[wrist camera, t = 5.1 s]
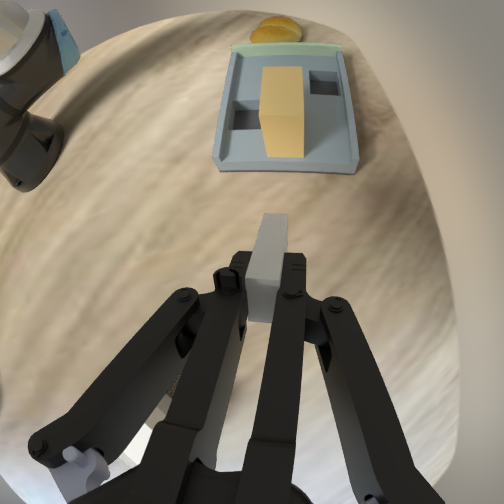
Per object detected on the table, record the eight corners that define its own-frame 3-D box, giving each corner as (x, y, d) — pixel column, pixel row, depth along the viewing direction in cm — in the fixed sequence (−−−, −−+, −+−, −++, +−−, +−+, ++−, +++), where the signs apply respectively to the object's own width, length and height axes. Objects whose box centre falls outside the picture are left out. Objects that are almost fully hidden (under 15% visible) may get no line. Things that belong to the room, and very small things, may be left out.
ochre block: (303, 157, 30) (304, 115, 22) (267, 157, 30) (258, 115, 23) (302, 110, 31) (302, 66, 24) (270, 110, 32) (262, 66, 25)
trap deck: (353, 175, 31) (360, 155, 27) (220, 172, 34) (209, 153, 29) (339, 65, 35) (341, 44, 31) (236, 65, 38) (231, 45, 33)
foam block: (104, 414, 30) (66, 430, 22) (138, 364, 31) (97, 375, 23) (156, 463, 28) (125, 490, 20) (198, 417, 28) (170, 445, 20)
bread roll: (245, 50, 39) (240, 33, 35) (265, 25, 40) (262, 9, 36) (291, 57, 37) (290, 39, 33) (308, 32, 38) (307, 15, 34)
